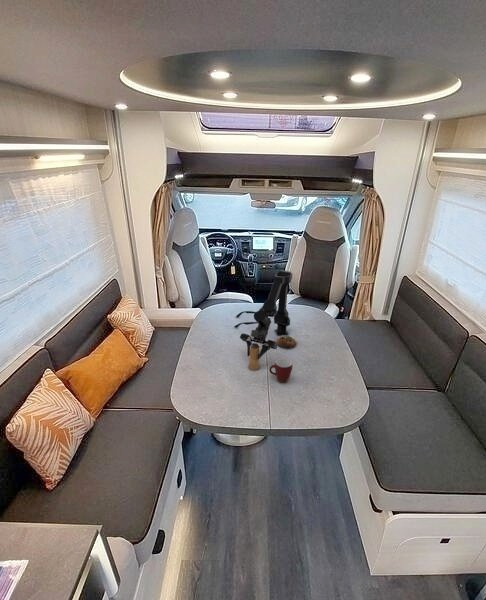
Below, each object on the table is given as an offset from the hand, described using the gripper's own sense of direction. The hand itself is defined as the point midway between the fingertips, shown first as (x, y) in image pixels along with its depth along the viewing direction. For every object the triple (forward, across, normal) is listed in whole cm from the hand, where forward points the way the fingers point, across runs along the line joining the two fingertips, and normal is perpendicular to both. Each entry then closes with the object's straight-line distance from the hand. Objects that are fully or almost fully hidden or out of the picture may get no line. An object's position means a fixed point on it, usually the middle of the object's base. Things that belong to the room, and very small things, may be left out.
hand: (253, 357), depth 153 cm
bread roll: (-17, +7, +26) cm, 32 cm away
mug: (+6, +15, +3) cm, 17 cm away
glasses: (-26, -23, +36) cm, 50 cm away
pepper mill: (+4, 0, +6) cm, 7 cm away
